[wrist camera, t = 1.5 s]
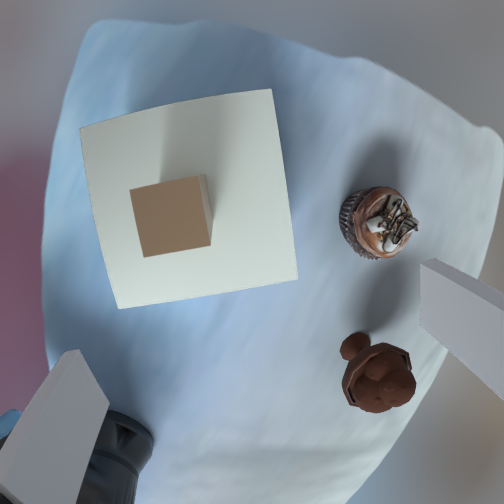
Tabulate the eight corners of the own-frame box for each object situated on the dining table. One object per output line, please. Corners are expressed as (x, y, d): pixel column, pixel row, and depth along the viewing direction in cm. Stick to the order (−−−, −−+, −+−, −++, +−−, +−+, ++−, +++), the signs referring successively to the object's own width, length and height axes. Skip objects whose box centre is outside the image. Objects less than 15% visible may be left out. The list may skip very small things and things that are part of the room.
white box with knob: (147, 266, 40) (85, 361, 19) (122, 140, 36) (25, 115, 14) (273, 244, 41) (330, 324, 20) (253, 115, 37) (296, 52, 15)
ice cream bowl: (346, 308, 45) (393, 362, 31) (395, 330, 47) (443, 378, 33) (311, 363, 47) (341, 427, 33) (361, 378, 49) (397, 434, 35)
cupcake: (319, 226, 41) (348, 244, 32) (358, 170, 40) (395, 172, 30) (367, 263, 44) (401, 287, 34) (402, 210, 42) (443, 222, 32)
